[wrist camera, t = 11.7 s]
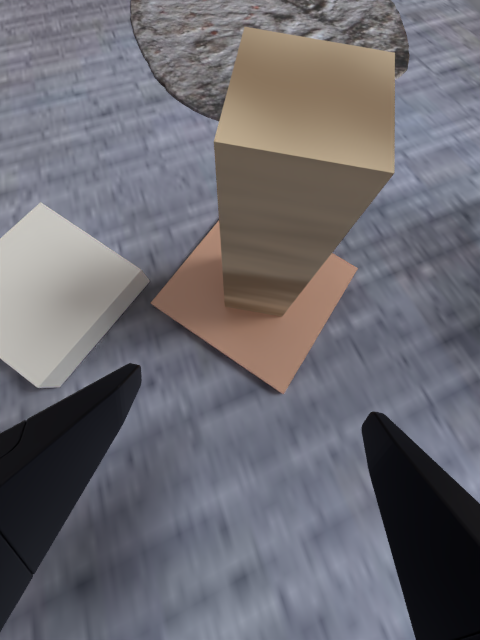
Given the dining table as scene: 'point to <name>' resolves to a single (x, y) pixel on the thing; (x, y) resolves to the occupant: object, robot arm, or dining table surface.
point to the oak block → (297, 159)
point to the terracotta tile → (252, 313)
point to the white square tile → (58, 295)
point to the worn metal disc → (226, 32)
